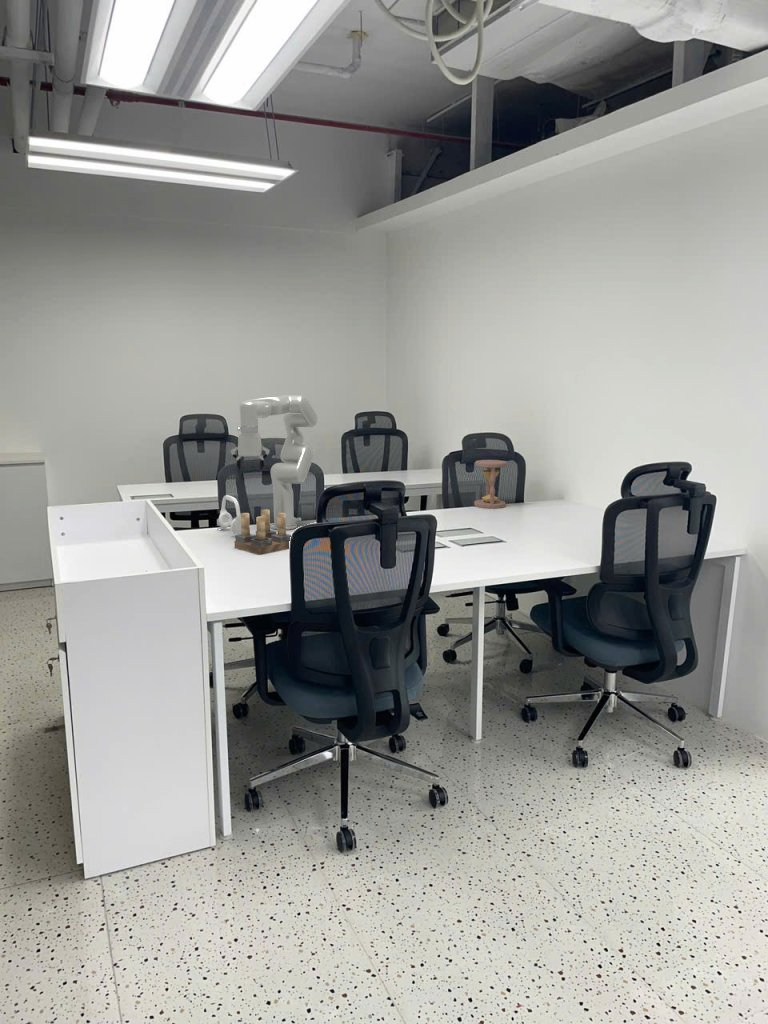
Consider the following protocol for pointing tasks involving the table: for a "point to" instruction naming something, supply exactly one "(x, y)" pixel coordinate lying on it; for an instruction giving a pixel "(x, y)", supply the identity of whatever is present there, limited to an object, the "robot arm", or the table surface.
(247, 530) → the stool
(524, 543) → the table surface
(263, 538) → the oak leg
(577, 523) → the table surface
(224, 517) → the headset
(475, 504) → the hourglass
